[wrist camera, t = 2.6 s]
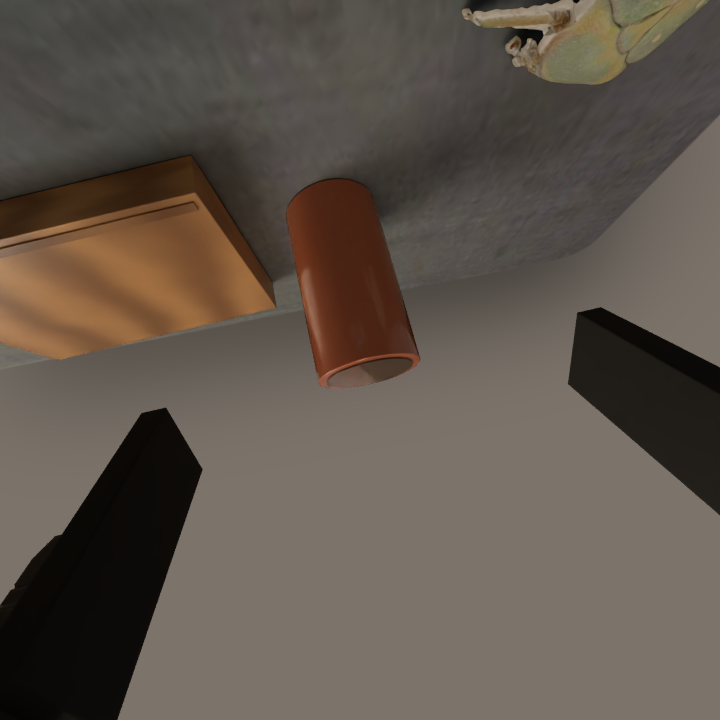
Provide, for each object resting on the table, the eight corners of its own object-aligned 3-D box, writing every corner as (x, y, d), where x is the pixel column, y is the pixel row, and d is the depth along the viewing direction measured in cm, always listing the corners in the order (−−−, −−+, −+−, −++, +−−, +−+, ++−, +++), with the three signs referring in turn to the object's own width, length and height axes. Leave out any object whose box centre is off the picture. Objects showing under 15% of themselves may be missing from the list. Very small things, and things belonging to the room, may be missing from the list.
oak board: (57, 334, 32) (57, 361, 32) (-177, 243, 19) (-187, 286, 18) (272, 283, 32) (277, 308, 31) (191, 154, 19) (195, 194, 18)
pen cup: (298, 250, 29) (327, 396, 25) (274, 192, 22) (308, 374, 19) (376, 231, 28) (416, 374, 25) (373, 168, 22) (426, 346, 19)
